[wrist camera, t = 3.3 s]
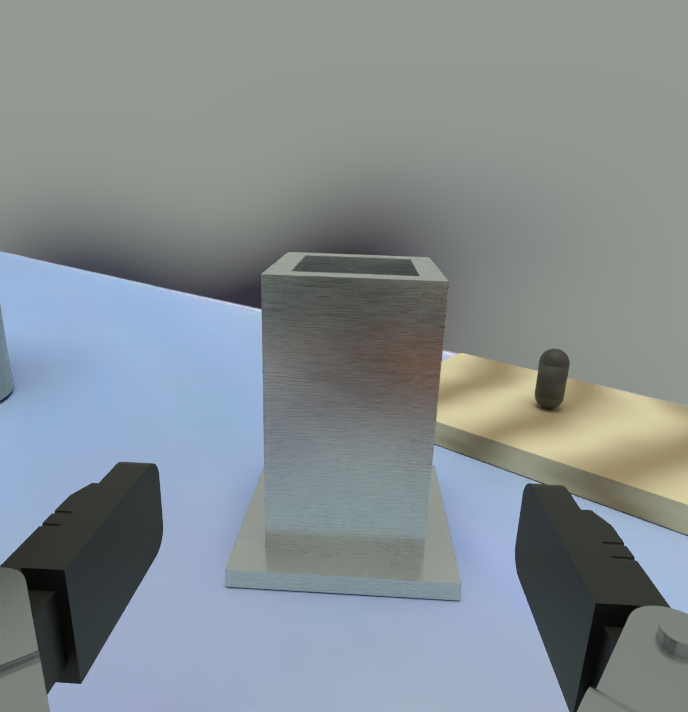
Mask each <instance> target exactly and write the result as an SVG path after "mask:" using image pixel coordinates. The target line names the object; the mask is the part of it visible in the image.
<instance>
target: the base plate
mask: <svg viewBox="0 0 688 712" xmlns="http://www.w3.org/2000/svg"><path fill="white" fill-rule="evenodd" d="M568 370H569V358H568V356H567V355H566V353H565V352H563V351H562V350H559V349H550V350H547V351H545V352H544V353H543V354H542V355H541V357H540V361H539V368H538V371H536V370H531V369H527V368H523V367H519V366H514V365H510V364H506V363H502V362H497V361H493V360H489V359H485V358H480V357H476V356H472V355H468V354H464V353H460V354H457V355H455V356H453V357H450V358H448V359H446V360H444V361H442V362H441V373H440V384H439V395H438V406H437V417H436V428H435V439H434V444H436V445H439V446H442V447H445V448H447V449H450V450H453V451H456V452H459V453H461V454H464V455H467V456H470V457H472V458H475V459H478V460H481V461H483V462H486V463H489V464H492V465H495V466H497V467H500V468H503V469H506V470H508V471H511V472H514V473H517V474H519V475H522V476H525V477H528V478H531V479H533V480H536V481H539V482H542V483H544V484H548V485H563V486H565V487H566V488H567V490H568V491H569V493H572V494H575V495H578V496H580V497H583V498H586V499H589V500H592V501H594V502H597V503H600V504H603V505H605V506H608V507H611V508H614V509H616V510H619V511H622V512H625V513H628V514H630V515H633V516H636V517H639V518H641V519H644V520H647V521H650V522H653V523H655V524H658V525H661V526H664V527H666V528H669V529H672V530H675V531H677V532H680V533H683V534H686V535H688V406H683V405H679V404H675V403H671V402H666V401H662V400H658V399H654V398H650V397H645V396H641V395H637V394H633V393H628V392H624V391H620V390H616V389H612V388H607V387H603V386H599V385H595V384H590V383H586V382H582V381H578V380H574V379H569V378H567V376H568Z"/></svg>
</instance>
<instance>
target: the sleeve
mask: <svg viewBox="0 0 688 712" xmlns="http://www.w3.org/2000/svg"><path fill="white" fill-rule="evenodd" d="M261 282H262V283H261V285H262V356H263V426H264V468H263V471H262V474H261V476H260V479H259V482H258V484H257V487H256V490H255V492H254V495H253V497H252V500H251V503H250V505H249V508H248V511H247V513H246V516H245V519H244V521H243V524H242V527H241V529H240V532H239V535H238V537H237V540H236V543H235V545H234V548H233V551H232V553H231V556H230V559H229V561H228V564H227V566H226V569H225V573H226V587H239V588H256V589H273V590H289V591H306V592H323V593H340V594H357V595H373V596H390V597H407V598H424V599H441V600H457V601H459V599H460V590H461V580H460V575H459V571H458V567H457V562H456V558H455V554H454V549H453V545H452V541H451V536H450V532H449V527H448V523H447V519H446V514H445V510H444V506H443V501H442V497H441V492H440V488H439V484H438V479H437V475H436V471H435V466H432V461H433V450H434V439H435V428H436V417H437V406H438V395H439V384H440V373H441V362H442V351H443V340H444V328H445V318H446V307H447V296H448V285H449V281H448V280H447V279H446V277H445V276H444V275H443V274H442V273H441V271H440V270H439V269H438V268H437V267H436V265H435V264H434V263H433V262H432V260H431V259H430V258H429V257H404V256H402V257H401V256H377V255H350V254H325V253H298V252H288V253H287V254H285V255H284V256H283V257H282V258H280V259H279V260H278V261H277V262H276V263H274V264H273V265H272V266H271V267H269V268H268V269H267V270H266V271H265V272H263V273H262V275H261Z"/></svg>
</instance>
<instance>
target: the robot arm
mask: <svg viewBox="0 0 688 712" xmlns="http://www.w3.org/2000/svg"><path fill="white" fill-rule="evenodd" d="M12 390H13V381H12V375H11V369H10V363H9V357H8V350H7V344H6V338H5V330H4V324H3V318H2V312H1V306H0V400H2V399H3V398H5V397H6V396H8V395H9V394H10V392H11V391H12ZM162 535H163V519H162V506H161V493H160V481H159V471H158V468H157V466H156V465H155V464H153V463H134V462H119V463H117V464H116V465H115V466H114V468H113V469H112V470H111V471H110V472H109V473H108V474H107V475H106V476H105V477H104V478H103V479H102V480H101V481H100V483H91V484H90V485H88V486H86V487H84V488H82V489H81V490H79V491H77V492H75V493H74V494H72V495H70V496H69V497H68V498H67V499H66V500H65V501H64V502H63V503H62V504H61V505H60V506H59V507H58V508H57V509H56V510H55V513H54V514H51V515H50V516H49V517H48V518H47V519H46V520H45V521H44V522H43V525H42V527H41V526H39V527H38V528H37V529H36V530H35V531H34V532H33V533H32V534H31V535H30V536H29V537H28V538H27V539H26V540H25V541H24V542H23V543H22V544H21V545H20V546H19V548H18V549H17V550H16V551H15V552H14V553H13V554H12V555H11V556H10V557H9V558H8V559H7V560H6V561H5V562H4V563H3V564H2V565H1V566H0V712H50V710H49V704H48V699H47V694H48V693H49V691H50V690H51V688H52V687H53V685H54V683H55V682H62V683H77V684H81V683H82V681H83V680H84V678H85V676H86V675H87V673H88V671H89V669H90V668H91V666H92V664H93V663H94V661H95V659H96V658H97V656H98V654H99V652H100V651H101V649H102V647H103V646H104V644H105V642H106V641H107V639H108V637H109V635H110V634H111V632H112V630H113V629H114V627H115V625H116V624H117V622H118V620H119V618H120V617H121V615H122V613H123V612H124V610H125V608H126V607H127V605H128V603H129V602H130V600H131V598H132V596H133V595H134V593H135V591H136V590H137V588H138V586H139V585H140V583H141V581H142V579H143V578H144V576H145V574H146V573H147V571H148V569H149V568H150V566H151V564H152V562H153V561H154V559H155V557H156V556H157V554H158V551H159V548H160V545H161V541H162ZM515 561H516V569H517V574H518V577H519V580H520V583H521V585H522V588H523V591H524V593H525V596H526V598H527V601H528V604H529V606H530V609H531V612H532V614H533V617H534V619H535V622H536V625H537V627H538V630H539V633H540V635H541V638H542V640H543V643H544V646H545V648H546V651H547V654H548V656H549V659H550V662H551V664H552V667H553V669H554V672H555V675H556V677H557V680H558V683H559V685H560V688H561V690H562V693H563V696H564V698H565V701H566V704H567V706H568V709H569V711H570V712H688V614H686V613H684V612H681V611H678V610H675V609H672V608H670V606H669V605H668V603H667V602H666V601H665V599H664V598H663V597H662V595H661V594H660V592H659V591H658V590H657V588H656V587H655V585H654V584H653V583H652V581H651V580H650V578H649V577H648V576H647V574H646V573H645V571H644V570H643V569H642V567H641V566H640V564H639V563H638V562H637V561H635V560H634V556H633V555H632V553H631V552H630V551H629V549H628V548H627V546H624V542H623V541H622V539H621V538H620V537H619V535H618V534H617V532H616V531H615V530H614V528H613V527H612V526H611V525H610V524H609V523H607V522H606V521H605V520H603V519H602V518H601V517H599V516H598V515H597V514H595V513H594V512H593V511H591V510H581V509H580V508H579V506H578V505H577V503H576V502H575V500H574V499H573V497H572V496H571V494H570V493H569V491H568V490H567V488H566V487H565V486H563V485H548V484H527V485H526V486H525V488H524V492H523V497H522V504H521V511H520V518H519V525H518V532H517V539H516V546H515Z"/></svg>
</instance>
